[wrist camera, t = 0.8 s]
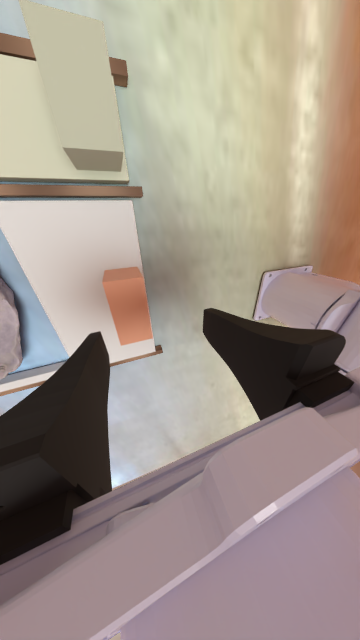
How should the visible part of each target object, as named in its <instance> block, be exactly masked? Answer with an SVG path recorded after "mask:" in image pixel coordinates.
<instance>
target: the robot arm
mask: <svg viewBox="0 0 360 640" xmlns="http://www.w3.org/2000/svg"><path fill="white" fill-rule="evenodd" d="M312 269H313V266H311V265H308V266H302V267H295V268H289V269H282V270H276V271H270V272H265V273H264V275H263V278H262V283H261V287H260V291H259V296H258V300H257V305H256V309H255V313H254V318H253V319H254V320H260V319H264V318H268V317H272V318H274V319H276V320H277V321H279V322H281V323H283V324H284V325H286V326H288V327H282V326H275V325H269V324H264V323H259V322H255V321H251V320H248V319H244V318H241V317H238V316H235V315H232V314H229V313H226V312H223V311H220V310H217V309H213V308H209V309H204V318H203V333H204V335H205V337H206V338H207V340H208V342H209V343H210V344H211V345H212V347H213V348H214V349H215V350H216V352H217V353H218V354H219V355H220V356H221V358H222V359H223V360H224V361H225V363H226V364H227V365H228V366H229V368H230V369H231V371H232V372H233V374H234V375H235V377H236V378H237V380H238V382H239V383H240V385H241V387H242V388H243V390H244V391H245V393H246V395H247V397H248V399H249V400H250V402H251V404H252V406H253V408H254V409H255V411H256V413H257V415H258V417H259V419H260V421H259V422H257V423H255V424H253V425H251V426H248V427H246V428H244V429H242V430H240V431H238V432H236V433H234V434H232V435H229V436H227V437H225V438H223V439H221V440H219V441H217V442H215V443H213V444H210V445H208V446H206V447H204V448H202V449H200V450H198V451H196V452H194V453H191V454H189V455H187V456H185V457H183V458H181V459H179V460H177V461H175V462H172V463H170V464H168V465H166V466H164V467H162V468H160V469H158V470H156V471H153V472H151V473H149V474H147V475H145V476H143V477H141V478H139V479H137V480H134V481H132V482H130V483H128V484H126V485H124V486H122V487H120V488H118V489H115V490H113V491H112V485H111V472H110V458H109V441H108V415H107V404H108V390H109V377H110V360H109V354H108V351H107V348H106V345H105V342H104V340H103V337H102V334H101V331H99V332H94V333H90V334H89V335H88V336H87V337H86V339H85V340H84V341H83V342H82V344H81V345H80V346H79V347H78V348H77V350H76V351H75V352H74V353H73V354H72V355H71V357H70V358H69V359H68V360H67V361H66V362H65V363H64V364H63V365H62V366H61V367H60V368H59V369H58V370H57V371H56V372H55V373H54V374H53V375H52V376H51V377H50V378H49V379H48V380H46V381H45V382H44V383H43V384H42V385H41V386H39V387H38V388H37V389H36V390H34V391H33V392H32V393H31V394H30V395H28V396H27V397H26V398H25V399H23V400H22V401H21V402H19V403H18V404H17V405H15V406H14V407H13V408H11V409H10V410H8V411H7V412H6V413H4V414H3V415H1V416H0V640H109V639H111V638H112V637H113V636H115V635H116V634H118V633H119V632H121V640H360V478H359V477H358V476H357V475H356V474H355V473H354V472H353V471H352V470H351V469H350V468H351V467H352V466H353V465H355V464H356V463H358V462H359V461H360V286H359V285H358V284H356V283H354V282H350V281H346V280H342V279H338V278H333V277H329V276H325V275H320V274H316V273H312V272H311V271H312Z"/></svg>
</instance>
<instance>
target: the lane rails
mask: <svg viewBox="0 0 360 640" xmlns="http://www.w3.org/2000/svg"><path fill="white" fill-rule="evenodd" d="M0 54H2V55H7V56H12V57H17V58H22V59H27V60H33V61H36V57H35V54H34V50H33V47H32V44H31V40H30V39H26V38H21V37H17V36H12V35H8V34H3V33H0ZM109 63H110V69H111V76H113V80H114V85H118V86H124V87H127V80H128V73H127V65H126V61H125V60H121V59H116V58H112V57H109ZM142 196H143V192H142V187H128V186H73V185H19V184H0V197H14V198H141V197H142ZM155 351H156V352H152V353H148V354H144V355H141V356H137V357H133V358H129V359H125V360H121V361H118V362H114V363H110V367H111V366H115V365H119V364H122V363H126V362H130V361H134V360H137V359H141V358H145V357H149V356H152V355H156V354H160V353H163V351H162V348H161V345H160V346H156V347H155ZM45 381H46V380H45ZM45 381H41V382H37V383H34V384H30V385H26V386H22V387H18V388H15V389H11V390H7V391H3V392H0V396H3V395H6V394H10V393H14V392H18V391H21V390H25V389H29V388H33V387H36V386H40V385H42V384H43V383H44V382H45Z"/></svg>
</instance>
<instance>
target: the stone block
mask: <svg viewBox="0 0 360 640" xmlns="http://www.w3.org/2000/svg"><path fill="white" fill-rule="evenodd" d="M19 326H20V324H19V320H18V311H17V310H16V307H15V305H14V295H13V291H12V290H11V289H10V288H9V287H8V286H7V285H6V283H5V282H4V281H3V279H2V278H1V277H0V379H3V378H5V377H6V376H7V375H8V373H9V372H14V371H15V370H16V369H17V368H18V367H19V366H20V365H21V363H22V360H23V358H22V350H21V345H20V340H21V339H20V333H19Z"/></svg>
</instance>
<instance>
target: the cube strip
mask: <svg viewBox="0 0 360 640" xmlns="http://www.w3.org/2000/svg"><path fill="white" fill-rule="evenodd" d="M0 228H1V230H2V231H3V233H4V235H5V237H6V239H7V241H8V243H9V245H10V246H11V248H12V250H13V252H14V254H15V256H16V258H17V260H18V261H19V263H20V265H21V267H22V269H23V271H24V273H25V275H26V276H27V278H28V280H29V282H30V284H31V286H32V288H33V290H34V291H35V293H36V295H37V297H38V299H39V301H40V303H41V305H42V306H43V308H44V310H45V312H46V314H47V316H48V318H49V320H50V321H51V323H52V325H53V327H54V329H55V331H56V333H57V335H58V336H59V338H60V340H61V342H62V344H63V346H64V348H65V350H66V351H67V353H68V355H69V357H71V355H72V354H73V353H74V352H75V351H76V350H77V348H78V347H79V346H80V345H81V344H82V342H83V341H84V340H85V339H86V337H87V336H88V335H89V334H90V333H94V332H99V331H101V334H102V337H103V340H104V342H105V345H106V348H107V351H108V354H109V360H110V363H114V362H118V361H121V360H125V359H129V358H133V357H137V356H141V355H144V354H148V353H152V352H156V351H155V344H154V338H153V331H152V325H151V319H150V312H149V306H148V299H147V293H146V286H145V280H144V274H143V267H142V261H141V254H140V248H139V241H138V235H137V228H136V222H135V216H134V209H133V203H132V200H98V201H0ZM65 362H66V361H64V362H60V363H56V364H52V365H48V366H44V367H40V368H35V369H31V370H27V371H23V372H19V373H15V374H10V375H7V376H6V377H5V378H3V379H0V392H3V391H7V390H11V389H15V388H18V387H22V386H26V385H30V384H34V383H37V382H41V381H45V380H48V379H49V378H50V377H51V376H52V375H53V374H54V373H55V372H56V371H57V370H58V369H59V368H60V367H61V366H62V365H63V364H64V363H65Z"/></svg>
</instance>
